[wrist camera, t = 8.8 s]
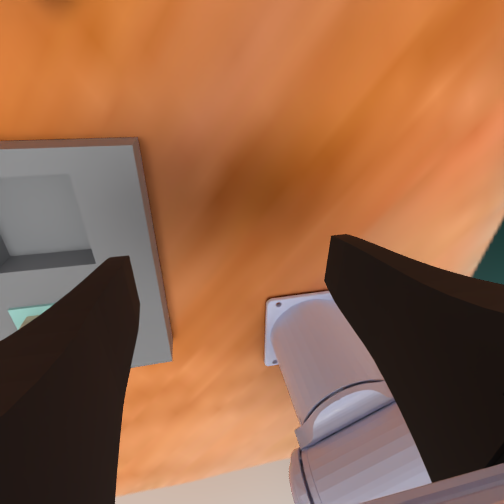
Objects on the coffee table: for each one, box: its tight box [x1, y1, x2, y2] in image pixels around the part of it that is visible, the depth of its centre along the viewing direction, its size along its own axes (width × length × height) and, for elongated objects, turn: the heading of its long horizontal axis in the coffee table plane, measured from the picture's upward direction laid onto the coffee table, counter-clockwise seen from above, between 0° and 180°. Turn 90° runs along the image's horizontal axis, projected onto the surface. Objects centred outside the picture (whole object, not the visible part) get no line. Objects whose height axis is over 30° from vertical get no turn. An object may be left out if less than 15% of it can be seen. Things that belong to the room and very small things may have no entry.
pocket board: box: [0, 137, 173, 368], centre depth 19 cm, size 12×16×3 cm
